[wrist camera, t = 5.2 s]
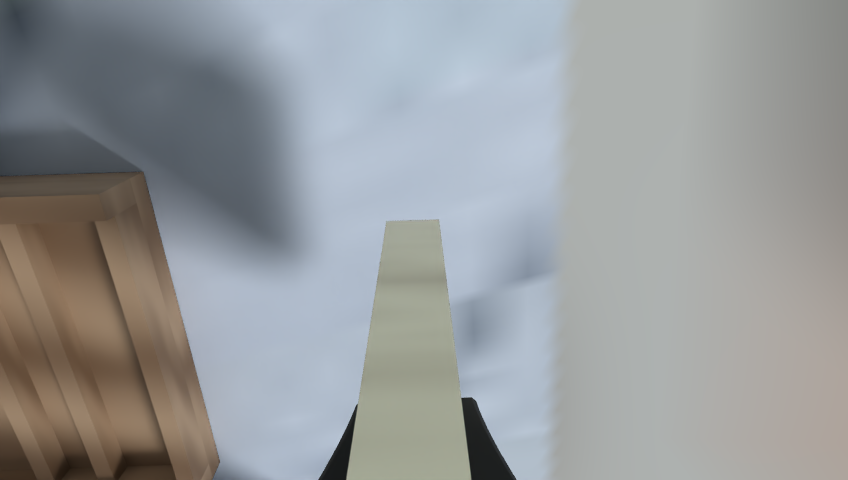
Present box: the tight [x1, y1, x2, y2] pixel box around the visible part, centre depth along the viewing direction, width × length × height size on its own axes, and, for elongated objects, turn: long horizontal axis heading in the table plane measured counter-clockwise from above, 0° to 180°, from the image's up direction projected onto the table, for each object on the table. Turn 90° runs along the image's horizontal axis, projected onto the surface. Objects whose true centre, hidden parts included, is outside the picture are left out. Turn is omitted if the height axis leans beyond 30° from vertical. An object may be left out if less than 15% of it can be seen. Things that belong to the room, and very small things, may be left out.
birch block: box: [346, 220, 471, 480], centre depth 11 cm, size 8×2×9 cm, turn 2°
